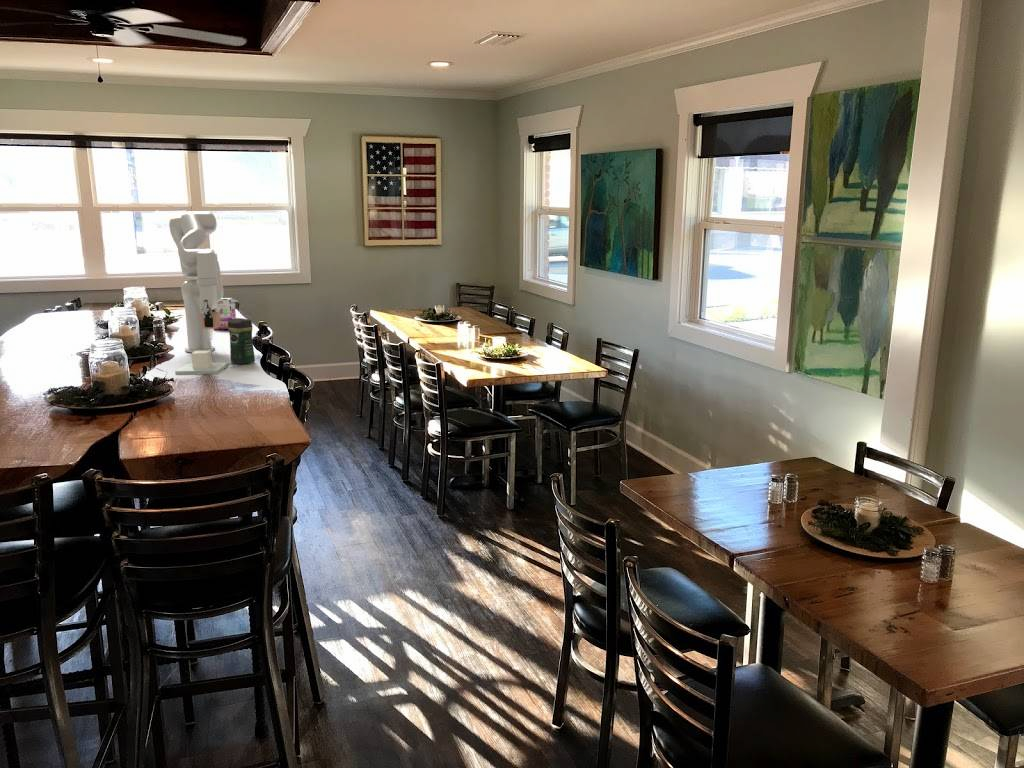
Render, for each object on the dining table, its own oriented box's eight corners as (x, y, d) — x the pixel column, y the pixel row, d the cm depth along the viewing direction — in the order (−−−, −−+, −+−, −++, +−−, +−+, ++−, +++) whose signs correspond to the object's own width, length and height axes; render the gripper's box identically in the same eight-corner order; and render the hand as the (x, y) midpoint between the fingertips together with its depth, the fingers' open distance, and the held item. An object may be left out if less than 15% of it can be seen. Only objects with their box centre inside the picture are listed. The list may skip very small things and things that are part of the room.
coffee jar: (258, 362, 336) (255, 318, 332) (243, 365, 329) (240, 320, 325) (242, 359, 341) (239, 316, 337) (227, 363, 334) (223, 318, 330)
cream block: (196, 365, 323) (195, 350, 322) (212, 365, 324) (211, 350, 322) (192, 368, 317) (191, 353, 316) (208, 368, 318) (207, 353, 316)
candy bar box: (237, 329, 422) (235, 297, 419) (232, 330, 418) (230, 299, 414) (217, 328, 424) (215, 297, 420) (212, 329, 419) (210, 298, 416)
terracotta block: (205, 326, 334) (204, 311, 333) (220, 326, 335) (219, 311, 333) (201, 328, 328) (200, 314, 327) (217, 328, 329) (215, 314, 327)
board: (187, 366, 328) (187, 363, 327) (228, 365, 329) (228, 362, 329) (175, 374, 312) (175, 371, 312) (218, 373, 313) (217, 370, 313)
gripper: (204, 279, 335) (207, 321, 339) (192, 284, 318) (195, 329, 323) (222, 279, 335) (225, 321, 340) (211, 284, 319) (215, 329, 323)
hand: (211, 325), depth 331 cm, fingers closed on terracotta block, 6 cm apart
